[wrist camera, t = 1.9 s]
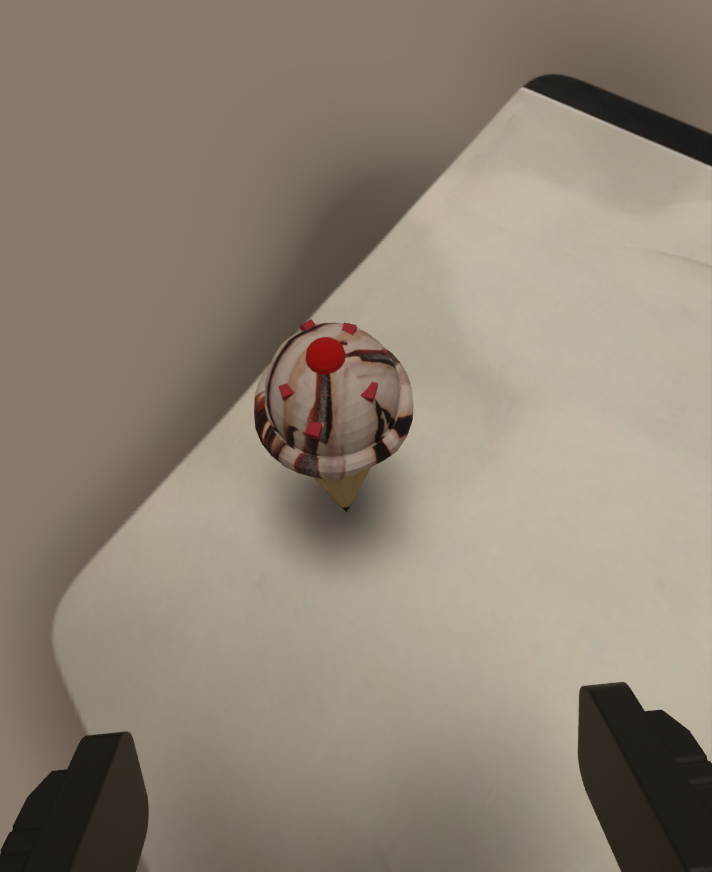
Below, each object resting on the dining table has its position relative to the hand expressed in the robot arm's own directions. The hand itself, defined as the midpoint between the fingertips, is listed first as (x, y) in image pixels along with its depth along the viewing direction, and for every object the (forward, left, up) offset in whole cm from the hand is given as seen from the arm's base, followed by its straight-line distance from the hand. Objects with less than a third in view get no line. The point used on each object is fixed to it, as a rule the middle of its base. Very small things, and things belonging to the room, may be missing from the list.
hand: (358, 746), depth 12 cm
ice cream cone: (+3, +11, -19) cm, 22 cm away
